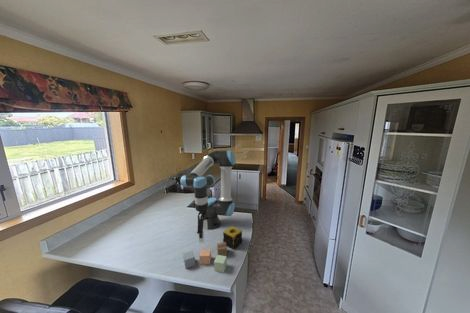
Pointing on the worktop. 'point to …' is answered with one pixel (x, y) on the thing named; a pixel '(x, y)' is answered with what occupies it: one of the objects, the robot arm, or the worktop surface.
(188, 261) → the slate cube
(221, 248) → the walnut cube
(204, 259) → the terracotta cube
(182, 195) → the worktop surface
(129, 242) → the worktop surface
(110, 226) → the worktop surface
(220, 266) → the sage cube
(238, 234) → the candle
